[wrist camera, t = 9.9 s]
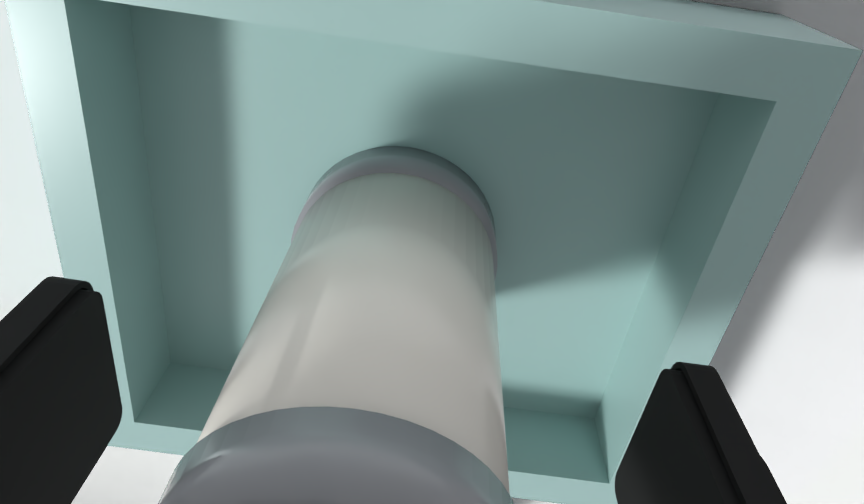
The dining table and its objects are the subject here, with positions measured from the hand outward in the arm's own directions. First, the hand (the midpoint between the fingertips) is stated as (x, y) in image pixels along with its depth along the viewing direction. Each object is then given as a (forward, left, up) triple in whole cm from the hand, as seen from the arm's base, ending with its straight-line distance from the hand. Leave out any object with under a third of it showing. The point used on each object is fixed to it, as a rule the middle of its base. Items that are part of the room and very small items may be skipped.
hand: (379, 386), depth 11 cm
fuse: (0, 0, -5) cm, 5 cm away
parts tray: (0, 0, -6) cm, 6 cm away
